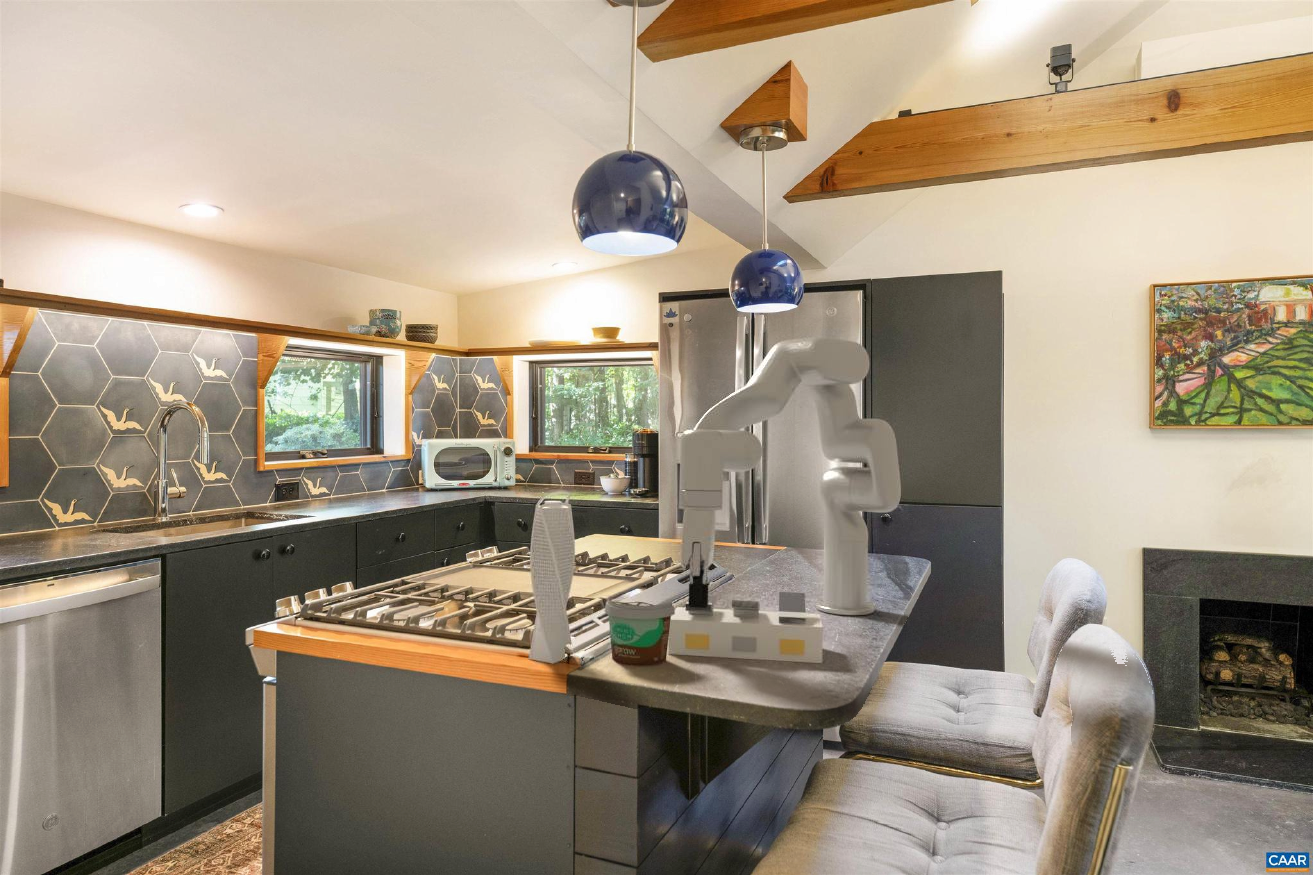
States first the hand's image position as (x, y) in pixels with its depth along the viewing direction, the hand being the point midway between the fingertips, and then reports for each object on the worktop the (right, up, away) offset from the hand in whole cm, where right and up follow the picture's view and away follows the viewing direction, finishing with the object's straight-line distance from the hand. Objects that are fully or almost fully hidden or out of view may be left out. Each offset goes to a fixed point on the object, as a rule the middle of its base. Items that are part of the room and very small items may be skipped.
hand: (698, 606), depth 131 cm
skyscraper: (-25, -8, -3) cm, 26 cm away
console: (+8, -8, +2) cm, 12 cm away
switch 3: (+16, -1, +1) cm, 17 cm away
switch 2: (+9, 0, +2) cm, 9 cm away
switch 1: (+1, 0, +4) cm, 4 cm away
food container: (-11, -8, -5) cm, 15 cm away
